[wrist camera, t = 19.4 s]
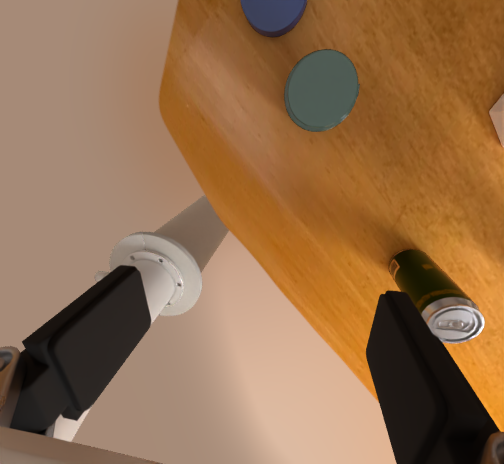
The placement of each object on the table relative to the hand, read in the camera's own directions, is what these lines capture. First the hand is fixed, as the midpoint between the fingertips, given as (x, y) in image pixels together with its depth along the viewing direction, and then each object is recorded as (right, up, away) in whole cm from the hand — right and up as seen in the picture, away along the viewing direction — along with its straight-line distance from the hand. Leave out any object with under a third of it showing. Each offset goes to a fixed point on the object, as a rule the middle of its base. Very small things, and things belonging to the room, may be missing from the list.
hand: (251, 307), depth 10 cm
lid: (+2, +27, +15) cm, 31 cm away
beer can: (+22, -1, +26) cm, 34 cm away
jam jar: (+7, +19, +19) cm, 28 cm away
